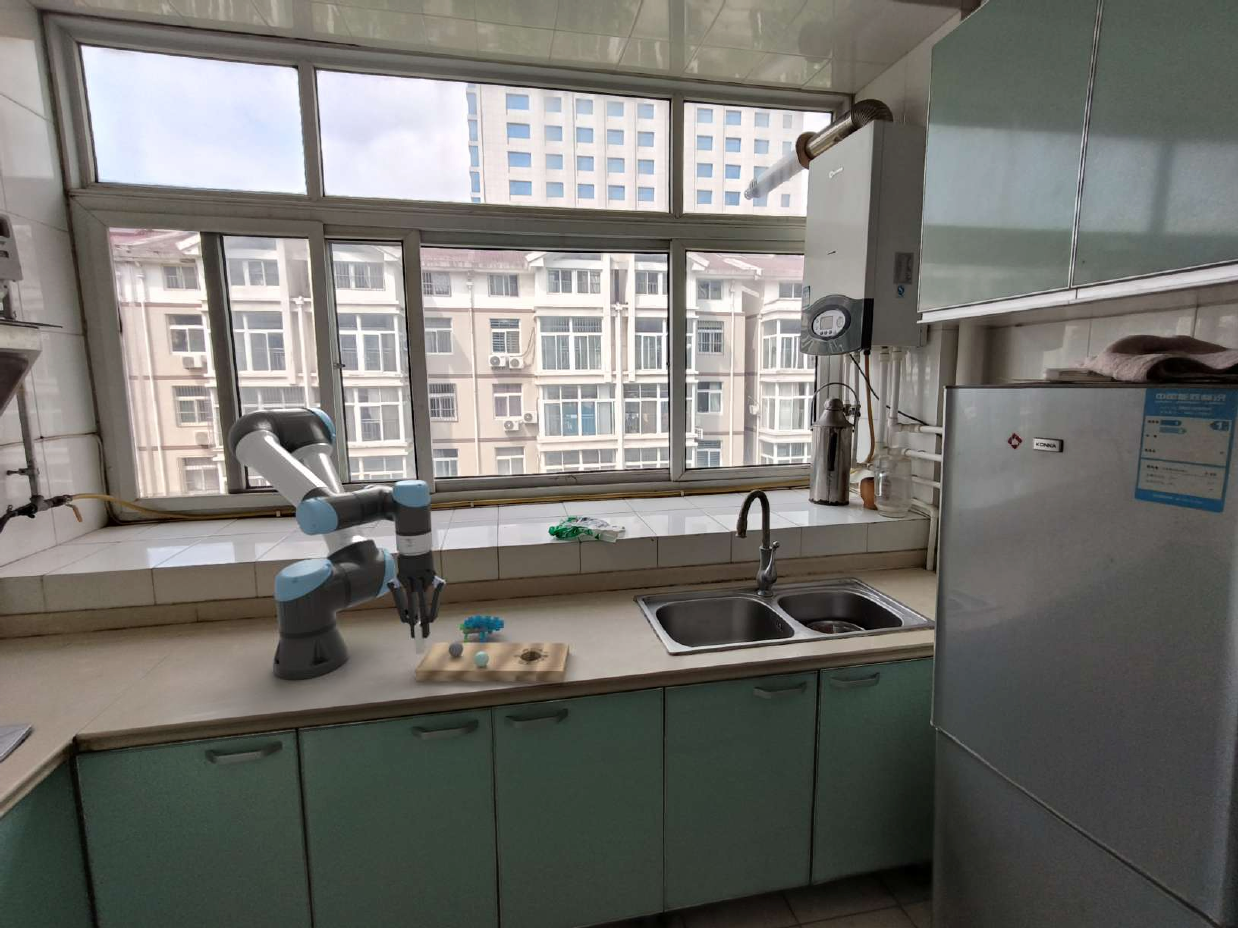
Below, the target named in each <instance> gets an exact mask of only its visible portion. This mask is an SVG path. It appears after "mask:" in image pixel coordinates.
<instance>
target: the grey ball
mask: <svg viewBox="0 0 1238 928" xmlns="http://www.w3.org/2000/svg"><path fill="white" fill-rule="evenodd" d="M451 643H452V644H451V645H450V646H449V653H450V655H451V656H454V657H457V656H459V655H461V654H462V652H463V645H462V644H461V643H462V642H459V641H454V642H451Z"/></svg>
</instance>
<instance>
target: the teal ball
mask: <svg viewBox="0 0 1238 928" xmlns="http://www.w3.org/2000/svg"><path fill="white" fill-rule="evenodd" d="M488 661H489V656H488V654H487V653H486V652H483V651H481V652H478V653H477V654H476V655H475V657H474V662H475V664H476V665H477V666H479V667H483V666H485V665H487V663H488Z"/></svg>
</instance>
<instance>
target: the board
mask: <svg viewBox="0 0 1238 928" xmlns="http://www.w3.org/2000/svg"><path fill="white" fill-rule="evenodd" d="M452 643H453V642H435V643H434V644H433V645H432V646H431V648H430V649H429V651H428V652H427V653H426V654H425V656H424V657H423V659H422V660H421V662H420V663H419V664H418V665H417V667H416V668H415V671H414V673H415V674H414V675H415V682H509V683H510V682H513V683H514V682H515V683H516V682H517V683H518V682H522V683H523V682H526V683H528V682H529V683H531V682H539V683H544V682H545V683H549V682H550V683H555V682H556V683H563V682H564V679H565V674H566V668H567V664H568V659H569V656H570V643H569V642H485V643H480V642H467V643H464V642H460V643H461V644H462V645H463V652H462V654H461V655H459V656H457V657H454V656H451V655H450V653H449V646H450V645H451V644H452ZM481 651H483V652H486V653H487V654H488V656H489V661H488V663H487V665H485V666H483V667H479V666H477V665H476V664H475V662H474V657H475V655H476V654H477V653H478V652H481Z"/></svg>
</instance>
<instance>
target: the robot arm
mask: <svg viewBox="0 0 1238 928" xmlns="http://www.w3.org/2000/svg"><path fill="white" fill-rule="evenodd" d="M335 432H336V429H335V426H334V423H333V421H332V419H331V418H330V417H329V416H328V414H327V413H326V412H325V411H323V410H322V409H319V408H315V407H305V406H304V407H303V406H302V407H297V408H283V409H259V410H254V411H249V412H247V413H245V414H243V415H241V416H240V417H239V418H238V419H237V420H235V421H234V423H233V424H232V426H231V428H230V429H229V432H228V435H227V436H228V437H227V444H228V448H229V451H230V452H231V454H232V455H233V457H234V458H235V459H236V460H237V461H238V462H239V463H240V464H241V465H242V466H245V467H247V468H251V469H254V470H255V472H257V473H258V474H259V475H260V476H261V477H262V478H264V480H265V481H267V482H268V483H269V484H270V486H272V487H273V488H274V489H275V490H276V491H277V492H279V494H281V495H282V496H283V497H284V498H285V499H286V500H287V501H288V502H289V503H290V504H291V505H292V506H294V507H295V509H296V510H295V518H296V523H297V525H298V526H299V528H300V529H299V530H300V531H301V532H302V533H304V534H305V535H307V536H317V535H321V536H322V537H323V540H324V542H325V545H326V547H327V549H328V553H327V555H326V557H325V558H323V557H316V558H315V557H313V558H311V559H304V560H300V561H297V562H294V563H291V564H290V565H288V566H286V567H284V568H282V569H281V570H280V571H279V572H278V574H277V575H276V576H275V579H274V594H273V596H274V599H275V607H276V615H277V625H278V633H279V634H278V636H279V638H278V641H277V642H278V643H277V645H276V649H275V654H274V658H273V661H272V666H273V674H274V675H275V676H276V677H278V678H280V679H284V680H294V681H295V680H303V679H304V680H305V679H310V678H314V677H315V678H316V677H318V676H322V675H324V674H327V673H330V672H333V671H334V670H336V669H337V668H339V667H341V666H342V665H343V664H345V662H346V661H347V660H348V658H349V657H348V656H349V653H348V646H347V643H346V641H345V640H344V637H343V635H342V633H341V631H340V629H339V627H338V623H337V612H340V611H343V610H346V609H349V608H351V607H355V606H357V605H360V604H362V603H365V602H368V601H374V600H376V599H377V598H380V597H383V596H384V595H387V594H388V593H389V592H391V595H392V597H393V600H394V603H395V607H396V609H397V610H396V611H397V612H398V616H399V619H400V621H401V623H403V624H404V623H406V624H408V625H409V627H410V629H409V630H410V637H411V639H414V646H415V654H416V655H417V654H420V655H421V654H424V653H425V651H426V649H427V648H428V646H427V639H428V638H429V636H430V634H431V631H430V624H433V623H434V622H435V621H436V619H437V618H438V617H439V616H438V615H439V610H440V606H441V605H440V603H441V599H442V595H443V589H444V588H445V586H446V584H447V582H448V580H447V579H446V578H443V579H442V578H440V577H439V576H437V573H436V571H435V568H434V566H435V565H434V561H435V560H434V550H433V549H432V548H433V547H434V546H433V545H434V544H433V532H432V511H431V509H432V508H431V501H432V500H431V495H430V487H429V484H428V483H427V482H426V481H425V480H421V479H410V480H409V479H407V480H401V481H396V482H395V483H394V484H393V485H392V486H389V485H386V484H379V483H378V484H368V485H366V486H364V487H363V488H362V489H360V490H354V491H348V492H346V491H345V489H344V487H343V484H342V481H341V479H340V477H339V476H338V472H337V470H336V469H335V466H334V464H333V461H332V459H331V457H330V456H331V455H332V453H333V450H334V445H335V443H336V437H337V436H336V434H335ZM380 521H389V522H394V528H395V532H394V533H395V540H396V541H395V543H396V552H397V554H396V560H397V561H396V562H397V570H398V571H397V574H396V563H395V560H394V558H393V555H392V554H391V552H390V551H389V550H387V548H384V547H377V545H376V543H375V540H374V539H373V538H369V537H367V536H365V534H364V531H363V530H362V526H363V525H365V524H370V523H374V522H380ZM433 583H434V584H433ZM432 584H433V587H434V588H435V589H434V591H433V595H432V599H431V604H430V603H429V602H430V601H429V590H430V589H429V588H430V587H431V585H432ZM401 586H402V587H403V588H404V589H405V594H404V592H403V588H402V587H401ZM405 595H406V598H407V602H406V598H405ZM418 605H419V607H418ZM429 605H431V606H429ZM418 608H419V609H418Z"/></svg>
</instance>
